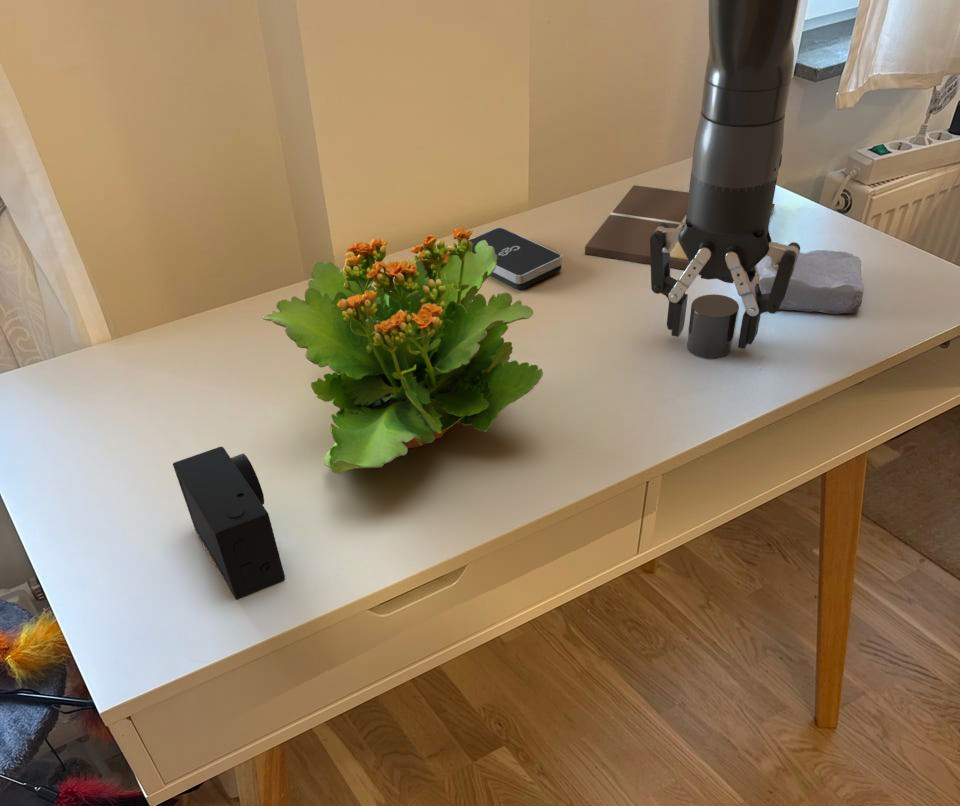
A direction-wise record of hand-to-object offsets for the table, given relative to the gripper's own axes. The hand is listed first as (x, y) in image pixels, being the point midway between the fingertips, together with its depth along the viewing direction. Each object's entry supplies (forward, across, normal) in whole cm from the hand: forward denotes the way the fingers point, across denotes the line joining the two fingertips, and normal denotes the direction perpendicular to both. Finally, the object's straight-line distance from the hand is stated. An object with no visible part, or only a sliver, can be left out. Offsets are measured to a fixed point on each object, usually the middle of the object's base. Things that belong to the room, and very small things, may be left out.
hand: (710, 338), depth 97 cm
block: (+1, +6, +14) cm, 16 cm away
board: (+1, -10, +24) cm, 26 cm away
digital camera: (+1, -27, -44) cm, 52 cm away
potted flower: (+1, -24, -22) cm, 32 cm away
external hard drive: (+1, -26, +9) cm, 28 cm away
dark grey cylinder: (+1, 0, 0) cm, 1 cm away
